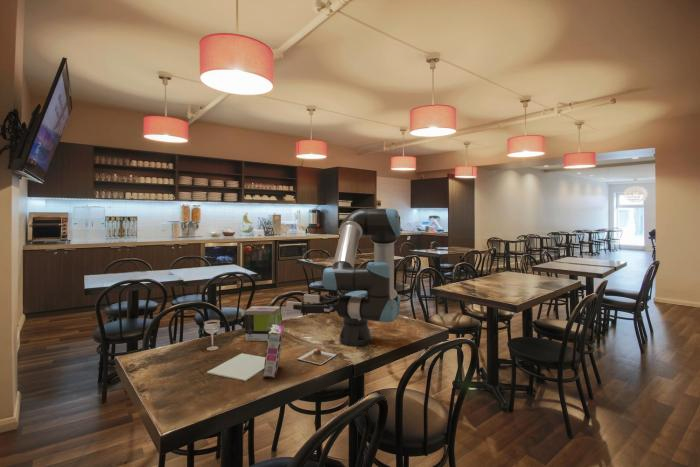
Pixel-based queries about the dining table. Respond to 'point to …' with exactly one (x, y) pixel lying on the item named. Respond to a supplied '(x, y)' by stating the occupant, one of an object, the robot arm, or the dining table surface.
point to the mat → (240, 367)
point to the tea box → (261, 322)
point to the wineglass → (212, 330)
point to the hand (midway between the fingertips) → (295, 301)
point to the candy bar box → (273, 351)
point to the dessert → (316, 355)
